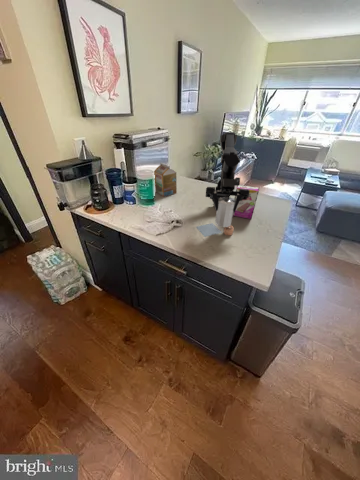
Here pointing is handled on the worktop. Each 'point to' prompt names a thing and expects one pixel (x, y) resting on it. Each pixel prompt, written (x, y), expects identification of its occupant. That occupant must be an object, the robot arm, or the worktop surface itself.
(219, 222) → the white can
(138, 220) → the worktop surface
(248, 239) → the worktop surface
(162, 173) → the milk carton
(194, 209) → the worktop surface
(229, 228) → the orange rounded ball
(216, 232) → the slate mat
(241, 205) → the candy bar box
